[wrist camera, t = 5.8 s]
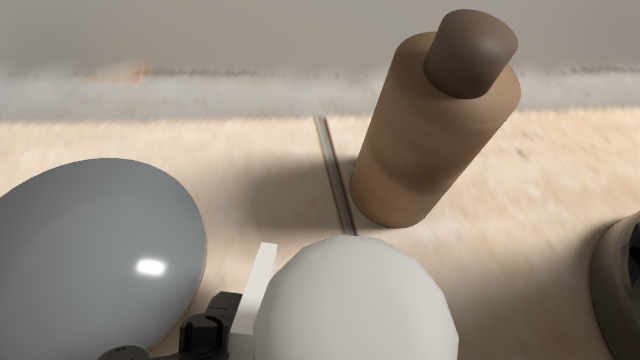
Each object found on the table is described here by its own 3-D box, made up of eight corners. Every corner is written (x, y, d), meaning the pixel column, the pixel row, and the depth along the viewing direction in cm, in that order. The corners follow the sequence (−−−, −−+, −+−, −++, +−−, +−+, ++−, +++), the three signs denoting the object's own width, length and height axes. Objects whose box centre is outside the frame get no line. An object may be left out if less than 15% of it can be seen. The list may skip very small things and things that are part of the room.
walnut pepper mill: (413, 149, 26) (504, -13, 16) (446, 219, 23) (581, 77, 13) (339, 161, 25) (387, -7, 15) (365, 236, 22) (446, 94, 12)
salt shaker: (225, 353, 18) (152, 276, 7) (320, 288, 20) (379, 151, 9) (289, 476, 16) (334, 654, 5) (387, 388, 18) (576, 368, 7)
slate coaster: (197, 154, 24) (194, 145, 23) (218, 349, 18) (216, 347, 17) (-18, 184, 21) (-31, 175, 20) (-75, 426, 15) (-95, 428, 14)
